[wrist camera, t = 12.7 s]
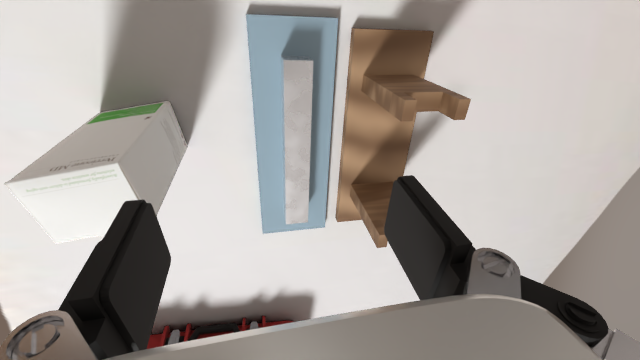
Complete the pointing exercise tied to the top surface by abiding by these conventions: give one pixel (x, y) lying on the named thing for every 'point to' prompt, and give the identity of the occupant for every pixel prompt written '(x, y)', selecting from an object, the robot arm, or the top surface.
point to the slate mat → (265, 65)
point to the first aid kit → (204, 332)
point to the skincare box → (102, 171)
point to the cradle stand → (384, 119)
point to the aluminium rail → (296, 135)
